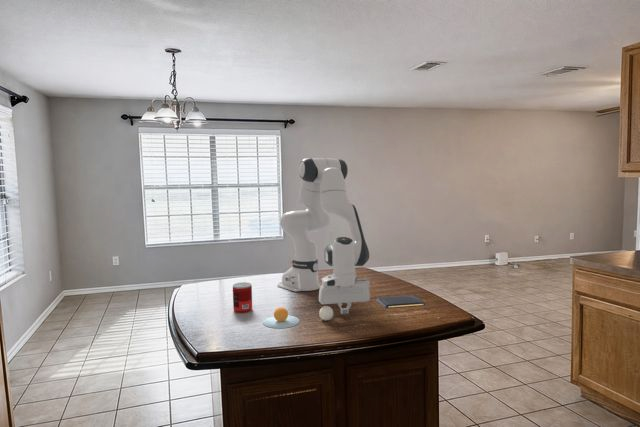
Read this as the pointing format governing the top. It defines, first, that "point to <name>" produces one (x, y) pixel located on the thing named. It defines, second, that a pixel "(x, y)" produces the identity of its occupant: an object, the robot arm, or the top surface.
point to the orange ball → (280, 314)
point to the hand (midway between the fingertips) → (344, 313)
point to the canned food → (242, 297)
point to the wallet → (400, 301)
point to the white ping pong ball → (326, 313)
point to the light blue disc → (287, 323)
